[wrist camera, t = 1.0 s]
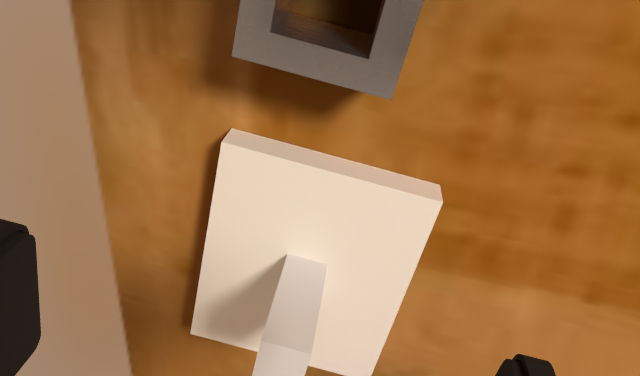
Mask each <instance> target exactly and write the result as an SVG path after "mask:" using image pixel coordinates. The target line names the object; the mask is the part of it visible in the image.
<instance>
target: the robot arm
mask: <svg viewBox="0 0 640 376" xmlns="http://www.w3.org/2000/svg"><path fill="white" fill-rule="evenodd" d="M36 259H37V258H36V242H35V238H34V236H33V235H29V232H28V229H27V227H26V226H24V225H21V224H18V223H14V222H10V221H6V220H2V219H0V376H15V375H16V373H17V372H18V371H19V370H20V368H21V367H22V366H23V365H24V363H25V362H26V361H27V360H28V358H29V357H30V356H31V355H32V353H33V352H34V350H35V349H36V347H37V345H38V343H39V340H40V336H41V327H40V312H39V311H40V310H39V293H38V275H37V260H36ZM495 376H556V375H555V372H554V369H553V367H552V365H551V364H550V363H549V362H548V361H545V360H541V359H537V358H533V357H529V356H526V355H522V354H517V355H516V356H515V357H514V358H513V359H512V360H511V359H506V360H504V362H503V363H502V365H501V366H500V368H499V370H498V372H497V374H496V375H495Z"/></svg>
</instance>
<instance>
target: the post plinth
mask: <svg viewBox="0 0 640 376" xmlns="http://www.w3.org/2000/svg"><path fill="white" fill-rule="evenodd" d="M442 203H443V200H442V194H441V188H440V185H439V184H435V183H431V182H428V181H424V180H420V179H417V178H413V177H409V176H406V175H402V174H398V173H395V172H391V171H387V170H384V169H380V168H376V167H373V166H369V165H365V164H362V163H358V162H354V161H351V160H347V159H343V158H340V157H336V156H332V155H329V154H325V153H321V152H318V151H314V150H310V149H307V148H303V147H299V146H296V145H292V144H288V143H285V142H281V141H277V140H274V139H270V138H266V137H263V136H259V135H255V134H252V133H248V132H244V131H241V130H237V129H233V128H231V130H230V131H229V132H228V134H227V135H226V136H225V138H224V139H223V141H222V142H221V148H220V154H219V160H218V166H217V172H216V179H215V185H214V191H213V197H212V203H211V209H210V216H209V222H208V228H207V234H206V240H205V246H204V253H203V259H202V265H201V271H200V277H199V283H198V290H197V296H196V302H195V308H194V314H193V320H192V327H191V333H190V334H193V335H197V336H201V337H204V338H208V339H212V340H215V341H219V342H223V343H227V344H230V345H234V346H238V347H241V348H245V349H249V350H252V351H256V352H258V354H257V358H256V362H255V366H254V370H253V374H252V376H305V373H306V370H307V367H308V366H312V367H315V368H319V369H323V370H327V371H330V372H334V373H338V374H341V375H345V376H371V375H372V373H373V370H374V368H375V365H376V363H377V360H378V358H379V356H380V353H381V351H382V348H383V346H384V344H385V341H386V339H387V336H388V334H389V331H390V329H391V327H392V324H393V322H394V319H395V317H396V315H397V312H398V310H399V307H400V305H401V302H402V300H403V298H404V295H405V293H406V290H407V288H408V286H409V283H410V281H411V278H412V276H413V273H414V271H415V269H416V266H417V264H418V261H419V259H420V257H421V254H422V252H423V249H424V247H425V244H426V242H427V240H428V237H429V235H430V232H431V230H432V228H433V225H434V223H435V220H436V218H437V215H438V213H439V211H440V208H441V206H442Z"/></svg>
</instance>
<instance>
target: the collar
mask: <svg viewBox="0 0 640 376" xmlns="http://www.w3.org/2000/svg"><path fill="white" fill-rule="evenodd" d="M292 2H293V0H240V6H239V12H238V19H237V25H236V31H235V38H234V44H233V50H232V57H236V58H239V59H243V60H247V61H250V62H254V63H258V64H261V65H265V66H269V67H272V68H276V69H280V70H283V71H287V72H290V73H294V74H298V75H301V76H305V77H309V78H312V79H316V80H320V81H323V82H327V83H331V84H334V85H338V86H342V87H345V88H349V89H353V90H356V91H360V92H364V93H367V94H371V95H375V96H378V97H382V98H386V99H389V100H392V97H393V94H394V90H395V87H396V84H397V81H398V78H399V75H400V72H401V69H402V66H403V63H404V59H405V56H406V53H407V50H408V47H409V44H410V41H411V38H412V35H413V31H414V28H415V25H416V22H417V19H418V16H419V13H420V10H421V7H422V3H423V0H382V3H381V7H380V10H379V14H378V17H377V21H376V24H375V28H374V31H373V34H369V33H365V32H362V31H358V30H354V29H351V28H347V27H343V26H340V25H336V24H332V23H329V22H325V21H322V20H318V19H314V18H311V17H307V16H303V15H300V14H296V13H292V12H291V7H292Z"/></svg>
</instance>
